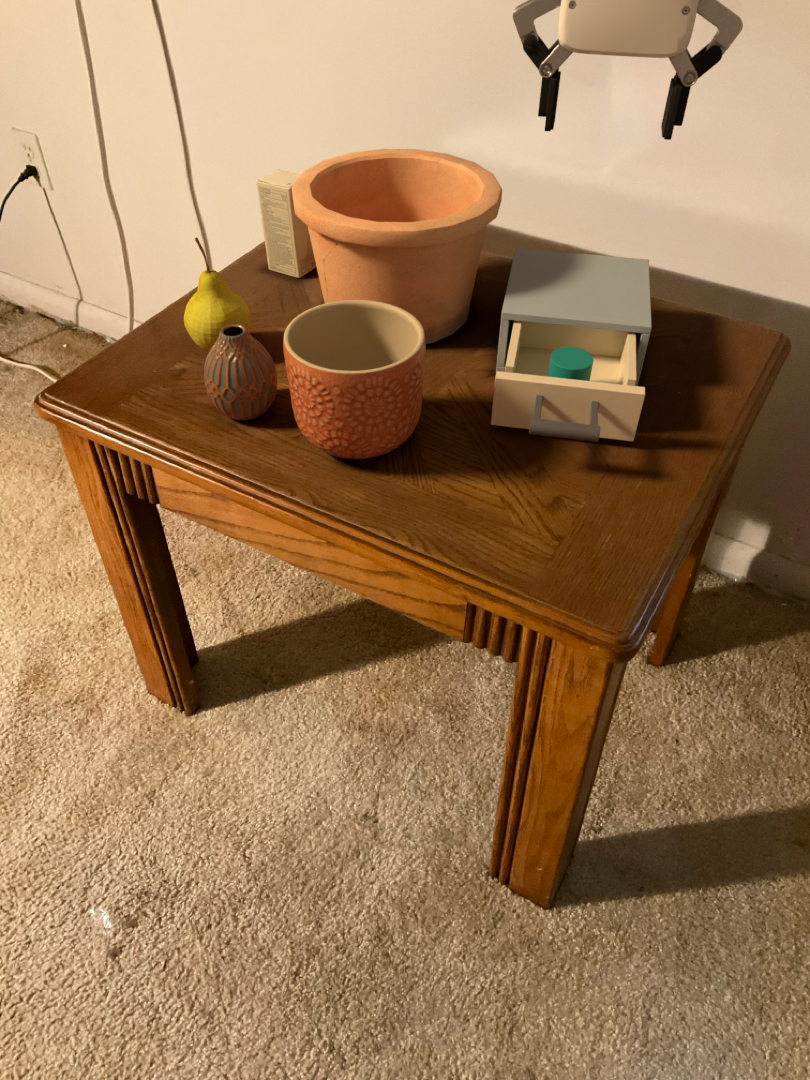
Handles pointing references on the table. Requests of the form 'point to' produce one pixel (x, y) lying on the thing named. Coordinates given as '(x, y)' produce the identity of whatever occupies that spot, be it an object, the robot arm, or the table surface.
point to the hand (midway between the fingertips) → (607, 130)
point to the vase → (240, 374)
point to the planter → (355, 376)
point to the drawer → (569, 384)
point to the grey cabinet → (577, 295)
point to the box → (284, 226)
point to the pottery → (399, 230)
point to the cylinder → (571, 364)
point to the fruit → (213, 308)
